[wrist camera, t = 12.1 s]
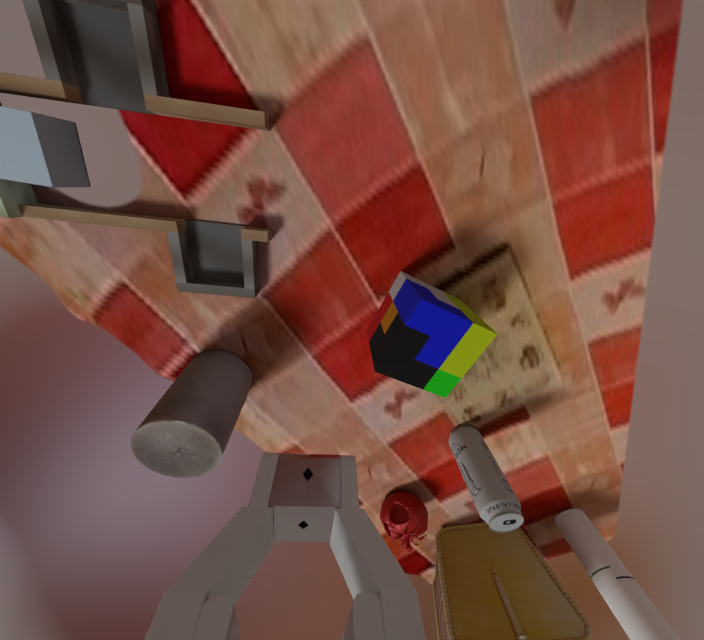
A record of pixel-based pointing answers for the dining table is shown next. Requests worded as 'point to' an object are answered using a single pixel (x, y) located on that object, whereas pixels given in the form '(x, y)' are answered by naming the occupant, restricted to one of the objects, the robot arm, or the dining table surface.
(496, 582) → the picnic basket
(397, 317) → the puzzle toy
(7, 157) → the block
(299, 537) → the robot arm
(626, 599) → the cylindrical container
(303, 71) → the dining table surface
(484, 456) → the energy drink can
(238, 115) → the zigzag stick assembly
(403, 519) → the pomegranate
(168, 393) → the pillar candle
